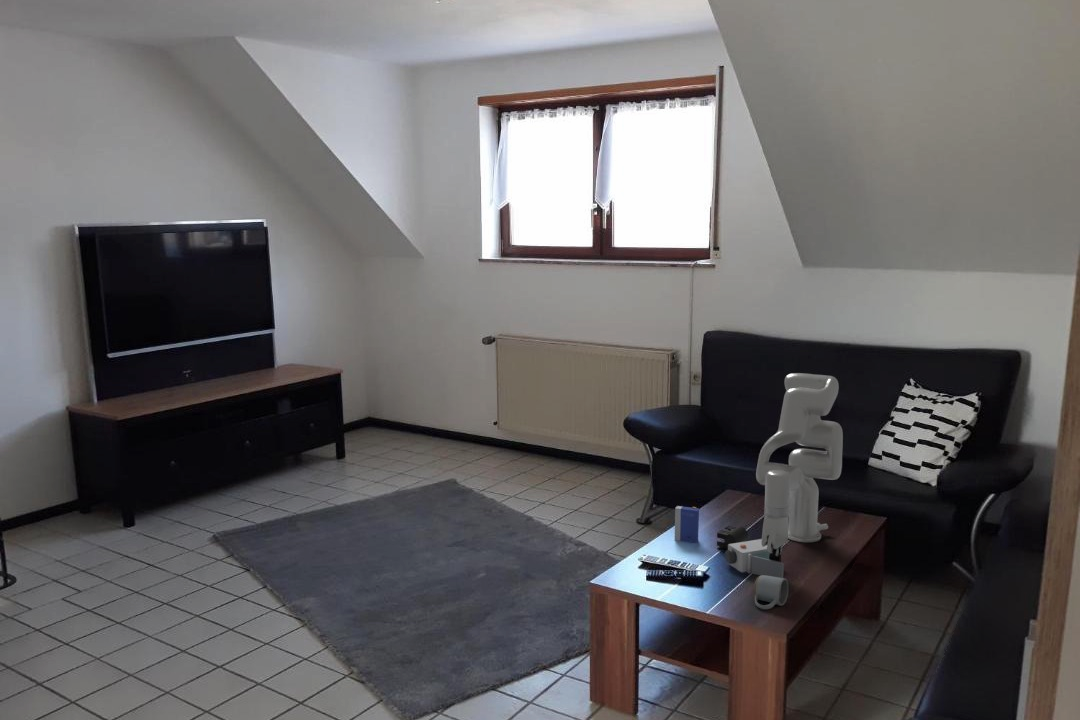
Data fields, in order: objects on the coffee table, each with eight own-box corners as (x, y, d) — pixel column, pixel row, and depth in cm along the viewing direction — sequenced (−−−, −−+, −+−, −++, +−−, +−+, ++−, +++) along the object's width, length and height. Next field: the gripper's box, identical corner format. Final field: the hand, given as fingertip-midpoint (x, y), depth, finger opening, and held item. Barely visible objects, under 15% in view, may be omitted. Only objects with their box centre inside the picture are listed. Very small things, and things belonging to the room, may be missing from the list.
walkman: (698, 540, 299) (699, 507, 297) (696, 543, 296) (697, 509, 294) (676, 537, 302) (676, 504, 300) (674, 540, 299) (674, 507, 297)
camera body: (763, 557, 284) (764, 536, 282) (778, 566, 276) (779, 545, 275) (723, 564, 278) (723, 543, 277) (737, 573, 271) (738, 552, 269)
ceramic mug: (761, 593, 256) (762, 569, 255) (788, 600, 251) (789, 575, 250) (747, 606, 248) (748, 581, 246) (775, 613, 243) (776, 588, 242)
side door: (783, 580, 265) (784, 562, 264) (781, 581, 264) (782, 563, 263) (748, 571, 272) (748, 553, 271) (746, 572, 271) (747, 554, 270)
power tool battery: (735, 555, 286) (736, 535, 285) (715, 550, 290) (716, 531, 289) (747, 546, 294) (748, 527, 293) (728, 541, 298) (729, 522, 297)
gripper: (775, 501, 273) (773, 556, 276) (755, 514, 261) (753, 571, 265) (798, 506, 268) (795, 561, 271) (778, 519, 257) (776, 577, 260)
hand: (774, 566), depth 268 cm, fingers closed
